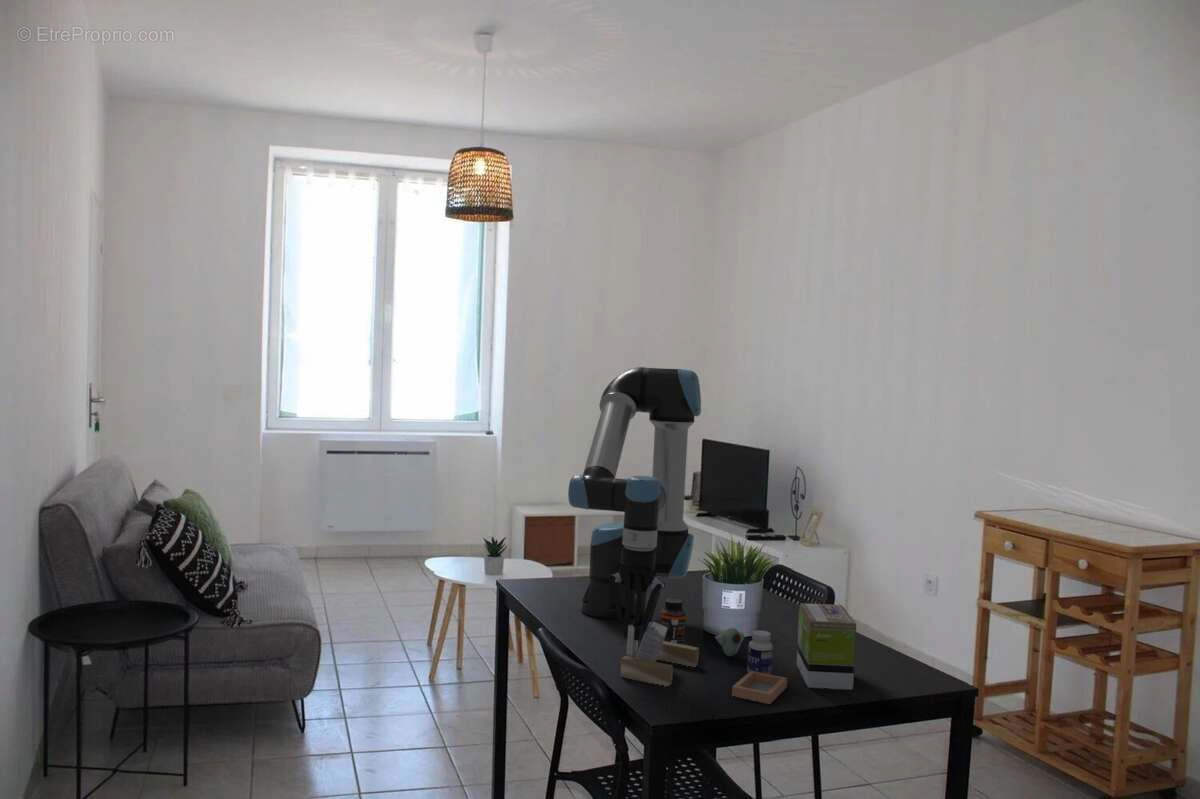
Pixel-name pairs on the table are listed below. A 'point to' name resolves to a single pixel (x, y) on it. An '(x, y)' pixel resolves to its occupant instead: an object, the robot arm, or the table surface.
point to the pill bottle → (760, 652)
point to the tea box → (826, 646)
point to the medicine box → (652, 642)
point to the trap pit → (759, 687)
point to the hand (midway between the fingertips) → (631, 653)
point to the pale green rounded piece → (730, 641)
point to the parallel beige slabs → (659, 664)
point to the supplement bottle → (673, 621)
